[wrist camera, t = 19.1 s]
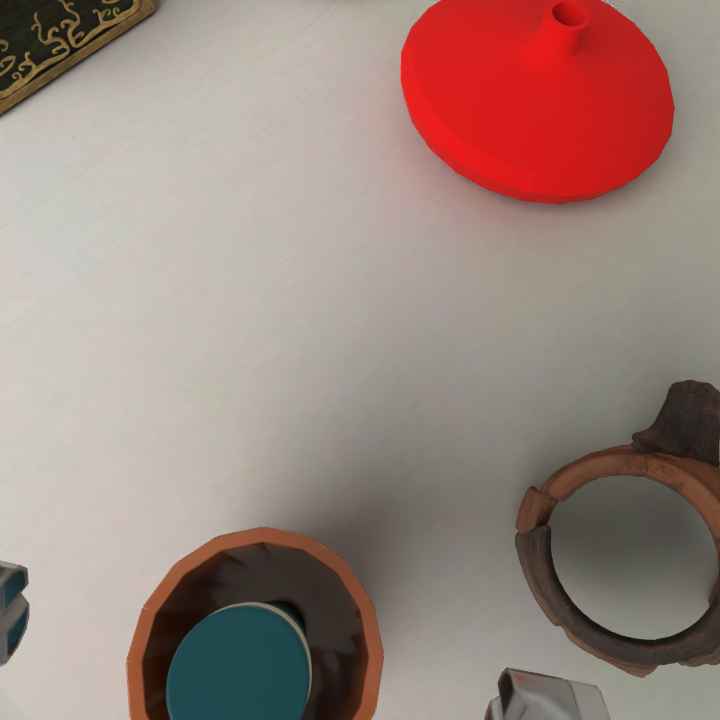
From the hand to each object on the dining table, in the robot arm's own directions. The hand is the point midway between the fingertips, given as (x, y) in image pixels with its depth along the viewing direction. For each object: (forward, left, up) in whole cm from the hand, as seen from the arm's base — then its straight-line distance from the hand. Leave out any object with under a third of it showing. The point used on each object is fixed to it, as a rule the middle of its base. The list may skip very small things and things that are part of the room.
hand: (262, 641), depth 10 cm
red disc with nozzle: (+24, -18, -16) cm, 34 cm away
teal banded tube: (-1, +1, -15) cm, 15 cm away
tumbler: (-1, +1, -16) cm, 16 cm away
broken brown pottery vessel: (0, -15, -16) cm, 22 cm away
